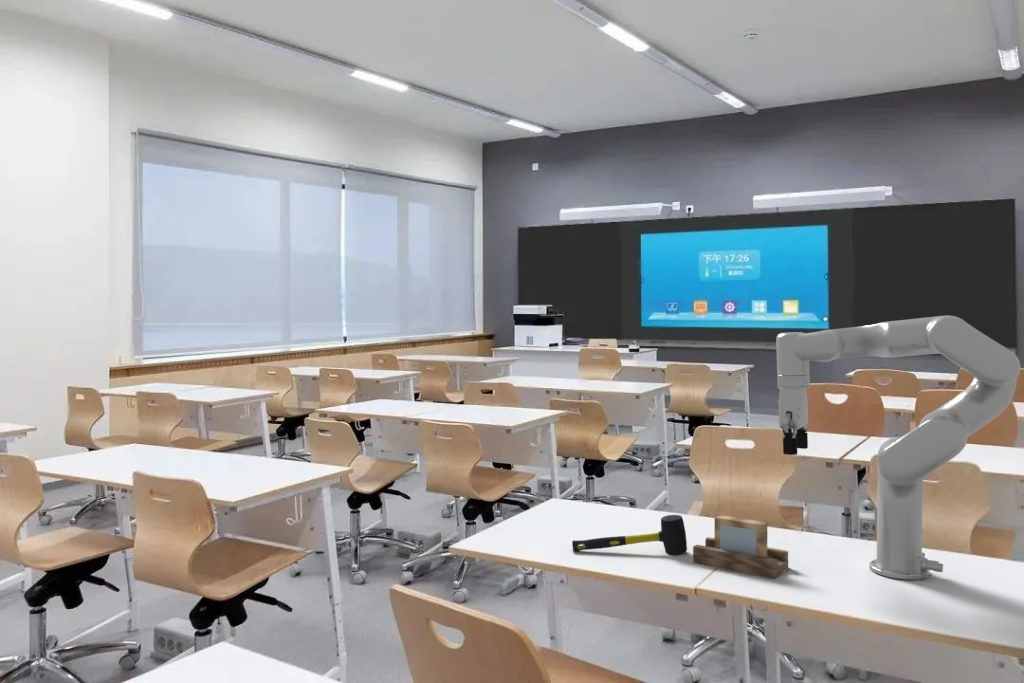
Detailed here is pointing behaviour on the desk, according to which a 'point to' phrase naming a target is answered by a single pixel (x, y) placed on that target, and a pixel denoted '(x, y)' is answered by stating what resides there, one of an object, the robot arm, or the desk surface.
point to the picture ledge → (741, 560)
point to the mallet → (645, 538)
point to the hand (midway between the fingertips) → (795, 451)
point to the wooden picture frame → (741, 535)
